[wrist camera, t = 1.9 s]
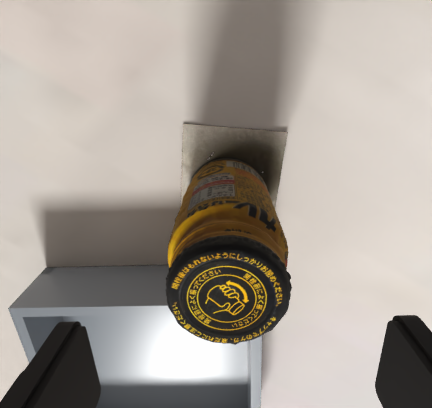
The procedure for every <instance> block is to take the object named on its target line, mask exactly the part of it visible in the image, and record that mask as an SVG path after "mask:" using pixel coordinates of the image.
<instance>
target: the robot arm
mask: <svg viewBox="0 0 432 408" xmlns="http://www.w3.org/2000/svg"><path fill="white" fill-rule="evenodd" d="M375 388H376V393H377V396H378V398H379V400H380V402H381V404H382V406H383V408H432V332H431V331H430V330H429V328H428V327H427V326H426V325H425V324H424V322H423V321H422V320H421V319H420V318H419V317H418V316H416V315H405V316H394V317H393V320H392V321H389V322H388V324H387V329H386V334H385V338H384V343H383V348H382V353H381V358H380V363H379V368H378V372H377V377H376V382H375ZM100 394H101V385H100V381H99V377H98V373H97V369H96V365H95V361H94V357H93V353H92V349H91V345H90V341H89V337H88V334H87V330H86V327H85V326H81V323H80V322H78V321H72V322H59V323H58V324H57V325H56V326H55V327H54V329H53V330H52V332H51V333H50V334H49V336H48V337H47V339H46V340H45V342H44V343H43V345H42V346H41V347H40V349H39V350H38V352H37V353H36V355H35V356H34V357H33V359H32V360H31V362H30V363H29V365H28V366H27V367H26V369H25V370H24V371H23V372H22V373H21V374H20V375H19V376H18V378H17V379H16V380H15V382H14V383H13V385H12V386H11V388H10V389H9V390H8V392H7V393H6V395H5V396H4V397H3V399H2V400H1V402H0V408H96V406H97V404H98V401H99V398H100Z"/></svg>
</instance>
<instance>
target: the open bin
mask: <svg viewBox="0 0 432 408" xmlns="http://www.w3.org/2000/svg"><path fill="white" fill-rule="evenodd" d="M168 272H169V265H145V266H100V267H55V268H45V270H44V271H43V272H42V273H41V274H40V275H39V276H38V277H37V278H36V279H35V280H34V281H33V282H32V283H31V285H30V286H29V287H28V288H27V289H26V290H25V291H24V292H23V293H22V294H21V295H20V296H19V297H18V298H17V299H16V301H15V302H14V303H13V304H12V305H11V306H10V307H9V308H8V309H9V312H10V314H11V317H12V319H13V322H14V325H15V327H16V330H17V332H18V335H19V338H20V340H21V343H22V345H23V348H24V351H25V353H26V356H27V358H28V361H29V363H30V362H31V360H32V359H33V357H34V356H35V355H36V353H37V352H38V350H39V349H40V347H41V346H42V345H43V343H44V342H45V340H46V339H47V337H48V336H49V334H50V333H51V332H52V330H53V329H54V327H55V326H56V325H57V324H58V323H59V322H72V321H78V322H80V323H81V326H85V327H86V330H87V334H88V337H89V341H90V345H91V349H92V353H93V357H94V361H95V365H96V369H97V373H98V377H99V381H100V385H101V394H100V398H99V401H98V404H97V406H96V408H261V363H262V335H261V336H260V337H258V338H256V339H254V340H250V341H246V342H240V343H238V344H236V345H234V344H231V343H226V344H223V343H215V342H210V341H207V340H204V339H202V338H199V337H197V336H195V335H193V334H191V333H189V332H188V331H187V330H185V329H184V328H182V327H181V326H180V325H179V324H178V323H177V321H176V319H175V317H174V315H173V314H172V312H171V311H170V309H169V308H168V303H167V296H166V277H167V275H168Z"/></svg>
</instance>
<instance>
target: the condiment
mask: <svg viewBox="0 0 432 408" xmlns="http://www.w3.org/2000/svg"><path fill="white" fill-rule="evenodd" d="M287 133H288V132H279V131H268V130H254V129H243V128H231V127H218V126H206V125H191V124H183V143H182V177H181V207H180V211H179V213H178V215H177V217H176V219H175V225H174V228H173V231H172V234H171V238H170V241H169V244H168V264H169V272H168V275H167V277H166V296H167V303H168V308H169V309H170V311H171V312H172V314H173V315H174V317H175V319H176V321H177V323H178V324H179V325H180V326H181V327H182V328H184V329H185V330H187V331H188V332H189V333H191V334H193V335H195V336H197V337H199V338H202V339H204V340H207V341H210V342H215V343H223V344H226V343H231V344H234V345H236V344H238V343H240V342H246V341H250V340H254V339H256V338H258V337H260V336H261V335H264V334H265V333H266V332H268V331H271V330H272V329H273V328H274V327H275V326H276V325H277V324H278V322H279V321H280V320H281V318H282V317H283V316H284V315H285V313H286V312H287V310H288V306H289V300H290V295H291V294H290V291H291V289H292V287H291V283H290V279H291V276H290V274H289V273H288V272H287V271H286V269H287V268H286V267H287V258H288V246H287V241H286V238H285V236H284V233H283V230H282V227H281V225H280V222H279V220H278V217H277V214H276V211H275V204H276V199H277V193H278V186H279V182H280V175H281V169H282V162H283V156H284V151H285V146H286V139H287ZM212 152H214V154H213V155H212V156H211V153H212ZM208 157H210V159H209V160H207V158H208ZM262 172H264V173H262Z"/></svg>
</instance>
